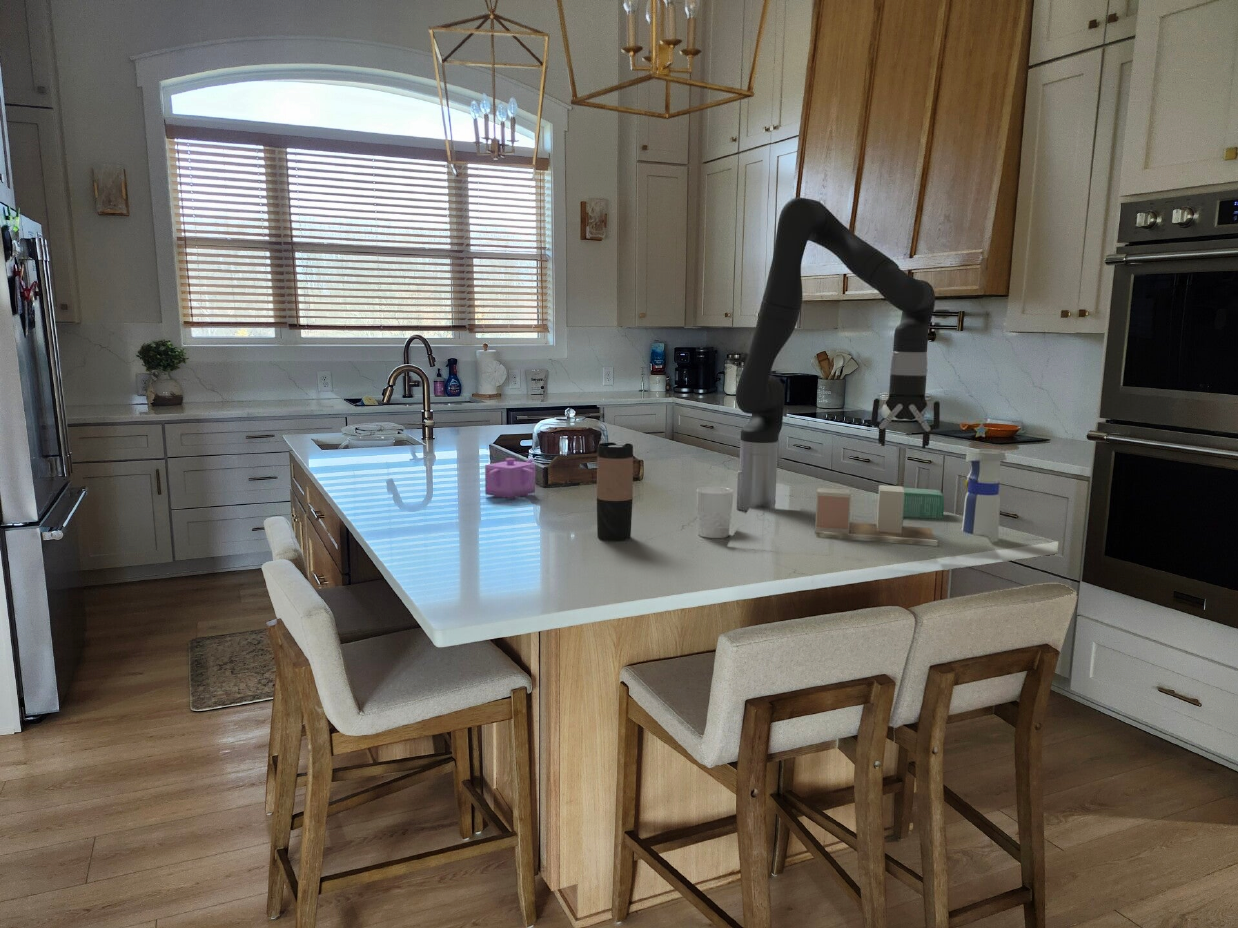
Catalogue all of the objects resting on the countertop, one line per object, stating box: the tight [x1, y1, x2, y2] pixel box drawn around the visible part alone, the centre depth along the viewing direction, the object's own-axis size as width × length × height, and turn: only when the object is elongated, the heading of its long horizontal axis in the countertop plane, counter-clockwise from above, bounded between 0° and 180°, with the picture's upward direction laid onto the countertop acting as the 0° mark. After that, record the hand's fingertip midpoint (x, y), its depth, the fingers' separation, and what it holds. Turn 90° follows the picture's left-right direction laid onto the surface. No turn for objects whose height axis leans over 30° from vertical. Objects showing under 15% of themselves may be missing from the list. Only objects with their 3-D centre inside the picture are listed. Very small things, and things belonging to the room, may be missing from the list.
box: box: [903, 487, 945, 519], centre depth 207 cm, size 7×14×8 cm, turn 78°
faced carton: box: [814, 487, 852, 534], centre depth 187 cm, size 7×5×9 cm
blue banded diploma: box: [961, 422, 1007, 543], centre depth 188 cm, size 8×9×25 cm
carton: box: [876, 484, 905, 533], centre depth 190 cm, size 7×5×9 cm
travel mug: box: [596, 442, 634, 542], centre depth 184 cm, size 8×8×20 cm
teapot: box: [484, 457, 536, 501], centre depth 228 cm, size 18×14×10 cm
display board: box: [816, 521, 939, 547], centre depth 188 cm, size 24×17×2 cm
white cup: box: [696, 486, 734, 539], centre depth 188 cm, size 8×8×10 cm
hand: (903, 446), depth 191 cm, fingers open, 8 cm apart
